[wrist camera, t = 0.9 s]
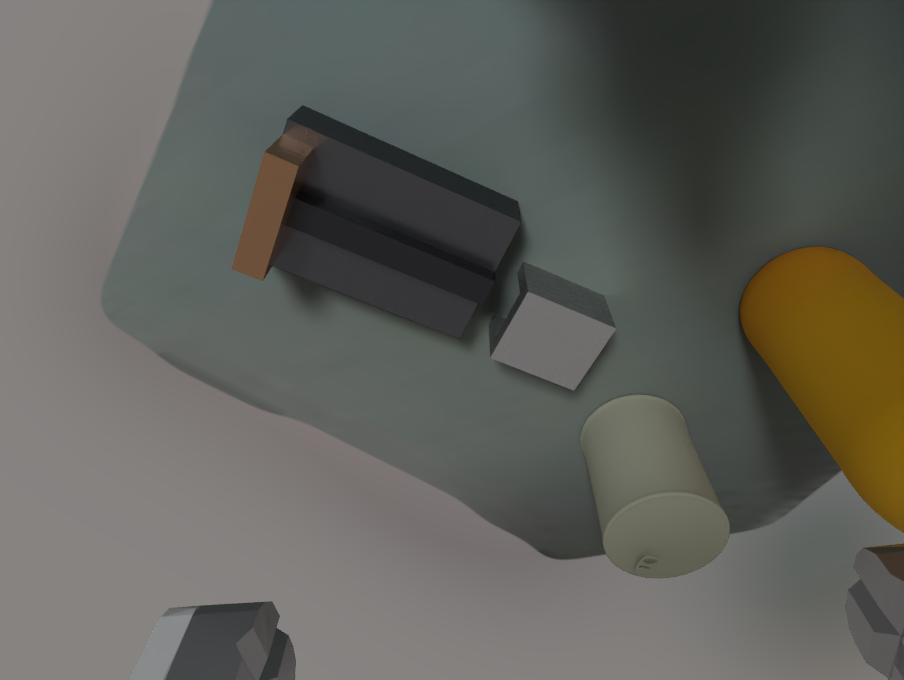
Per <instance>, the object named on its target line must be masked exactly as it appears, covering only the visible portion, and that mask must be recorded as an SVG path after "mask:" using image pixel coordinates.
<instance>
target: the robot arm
mask: <svg viewBox="0 0 904 680" xmlns="http://www.w3.org/2000/svg"><path fill="white" fill-rule="evenodd" d="M854 569H855V570H856V572H857V573H858V575H859V576H860V578H861V579H860V580H859V581H858V582H856V583H855V584H854V585H853V586H852V587H851V588H850V589H848V594H847V600H846V613H847V619H848V624H849V628H850V631H851V633H852V636H853V638H854V641H855V643H856V645H857V647H858V649H859V651H860V653H861V654H862V656H863V658H864V660H865V661H866V663H868V664H869V665H870V666H872V667H873V668H875V669H876V670H877V671H879V672H880V673H882V674H883V675H885V676H886V677H887V678H888V680H904V544H896V545H886V546H876V547H867V548H862V549H861V550H860V551H859V552H858V553H857V555H856V559H855V563H854ZM279 617H280V616H279V614H278V612H277V610H276V608H275V606H274V604H273V602H254V603H237V604H220V605H204V606H191V607H177V608H169V609H168V610H167V611H166V612H165V613H164V614H163V615H162V616H161V617H160V618H159V620H158V622H157V624H156V626H155V628H154V630H153V632H152V634H151V636H150V638H149V640H148V642H147V644H146V647H145V648H144V650H143V652H142V654H141V657H140V659H139V661H138V663H137V665H136V667H135V669H134V671H133V673H132V675H131V677H130V679H129V680H295V667H296V660H295V654H294V648H293V645H292V642H291V640H290V638H289V635H287V634H285V633H284V632H282V631H281V630H279V629H277V628H276V627H277V623H278V620H279Z"/></svg>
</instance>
